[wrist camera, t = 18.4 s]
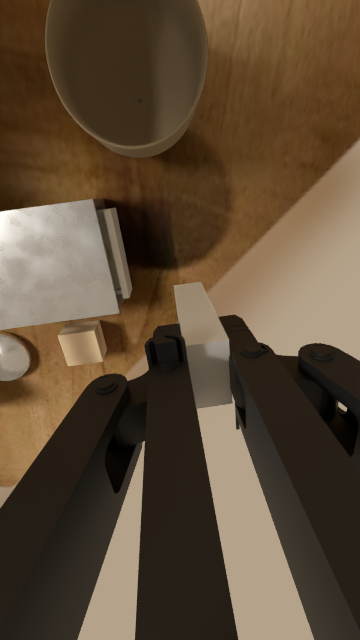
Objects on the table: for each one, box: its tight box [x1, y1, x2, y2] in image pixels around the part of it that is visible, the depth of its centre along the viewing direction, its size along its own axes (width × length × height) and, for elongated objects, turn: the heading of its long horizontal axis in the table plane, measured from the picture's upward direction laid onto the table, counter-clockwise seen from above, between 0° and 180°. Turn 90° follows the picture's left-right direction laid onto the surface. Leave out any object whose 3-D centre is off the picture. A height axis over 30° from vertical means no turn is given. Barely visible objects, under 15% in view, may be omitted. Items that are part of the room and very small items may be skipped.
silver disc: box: [0, 331, 32, 381], centre depth 41 cm, size 8×8×2 cm
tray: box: [97, 208, 132, 299], centre depth 34 cm, size 15×11×4 cm
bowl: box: [45, 0, 208, 158], centre depth 25 cm, size 13×13×10 cm
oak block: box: [58, 320, 107, 366], centre depth 40 cm, size 5×5×4 cm
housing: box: [0, 199, 124, 330], centre depth 34 cm, size 15×13×6 cm
